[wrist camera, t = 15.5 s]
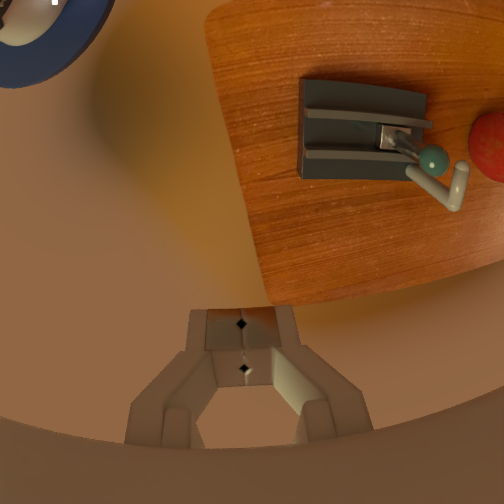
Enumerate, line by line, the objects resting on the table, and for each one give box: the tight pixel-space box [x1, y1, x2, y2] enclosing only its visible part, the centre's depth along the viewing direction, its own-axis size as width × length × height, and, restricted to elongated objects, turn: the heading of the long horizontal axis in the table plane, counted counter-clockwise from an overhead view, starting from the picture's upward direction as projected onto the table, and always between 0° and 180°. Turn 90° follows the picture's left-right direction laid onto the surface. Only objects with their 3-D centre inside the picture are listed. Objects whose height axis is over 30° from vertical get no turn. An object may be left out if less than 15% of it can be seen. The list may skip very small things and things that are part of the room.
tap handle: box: [375, 123, 450, 177], centre depth 29 cm, size 3×4×12 cm
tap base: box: [297, 78, 470, 212], centre depth 30 cm, size 12×16×14 cm
